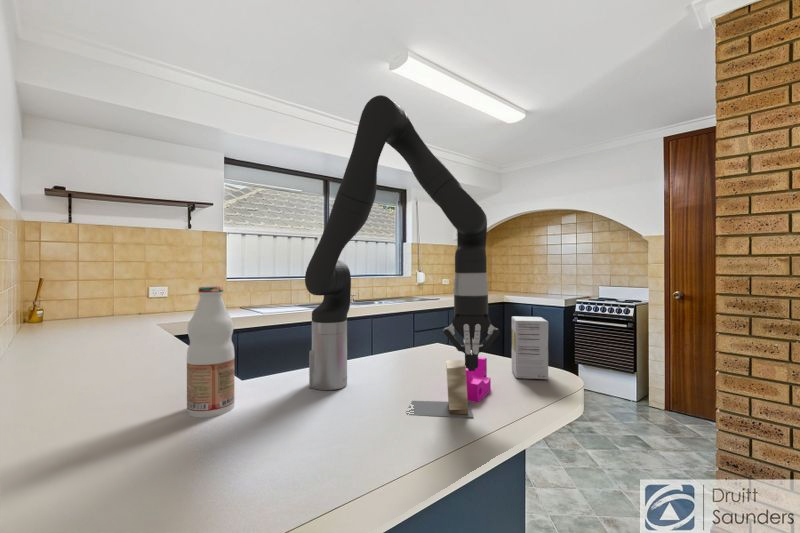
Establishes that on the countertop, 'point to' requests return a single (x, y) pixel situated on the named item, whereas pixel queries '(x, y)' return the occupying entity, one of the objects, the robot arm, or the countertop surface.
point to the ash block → (457, 387)
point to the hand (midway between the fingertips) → (471, 370)
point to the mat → (436, 409)
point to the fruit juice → (210, 357)
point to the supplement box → (530, 347)
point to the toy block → (478, 381)
